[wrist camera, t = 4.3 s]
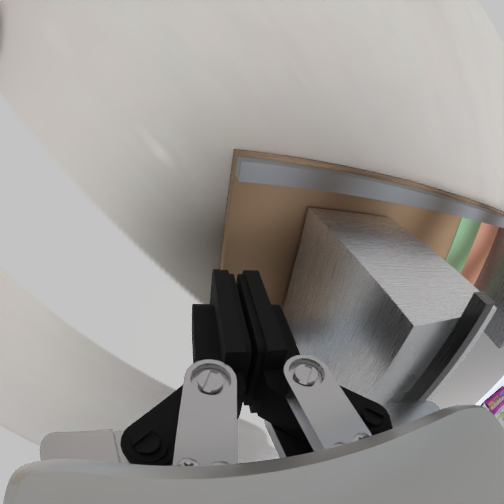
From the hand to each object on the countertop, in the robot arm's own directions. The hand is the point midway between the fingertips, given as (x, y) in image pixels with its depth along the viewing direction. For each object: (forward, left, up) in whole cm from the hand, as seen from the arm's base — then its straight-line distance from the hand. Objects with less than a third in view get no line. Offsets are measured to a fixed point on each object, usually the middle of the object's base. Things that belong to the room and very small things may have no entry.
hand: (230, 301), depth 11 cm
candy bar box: (-92, -54, -5) cm, 107 cm away
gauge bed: (-6, -10, -5) cm, 13 cm away
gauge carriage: (-3, -5, -3) cm, 7 cm away
